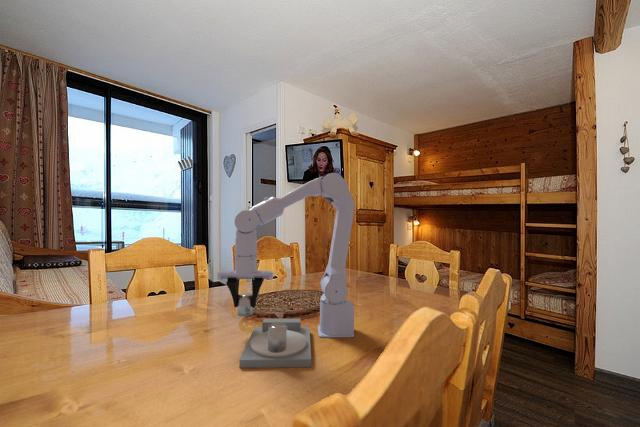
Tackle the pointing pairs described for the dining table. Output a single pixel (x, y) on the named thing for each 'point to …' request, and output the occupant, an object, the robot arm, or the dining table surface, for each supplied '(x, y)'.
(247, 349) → the scale
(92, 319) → the dining table surface
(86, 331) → the dining table surface
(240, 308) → the cylinder
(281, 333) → the cylinder
